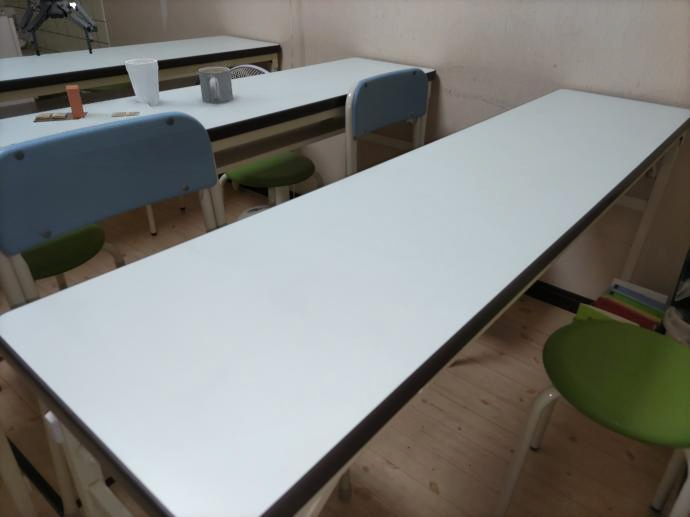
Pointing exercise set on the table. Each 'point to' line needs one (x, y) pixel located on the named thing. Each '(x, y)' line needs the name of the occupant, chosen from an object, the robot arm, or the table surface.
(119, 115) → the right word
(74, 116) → the orange rectangular block
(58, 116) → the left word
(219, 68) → the coffee mug
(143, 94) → the foam cup
